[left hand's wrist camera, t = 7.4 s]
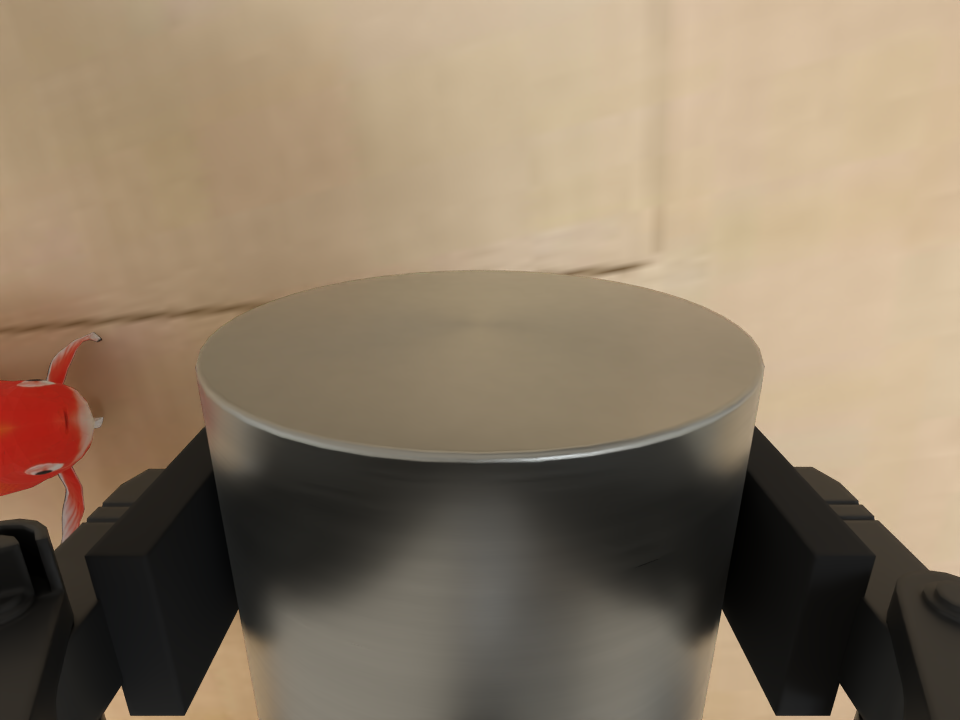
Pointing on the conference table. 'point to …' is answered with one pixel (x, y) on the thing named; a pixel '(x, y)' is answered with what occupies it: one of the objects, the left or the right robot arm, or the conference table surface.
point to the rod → (480, 495)
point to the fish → (46, 434)
